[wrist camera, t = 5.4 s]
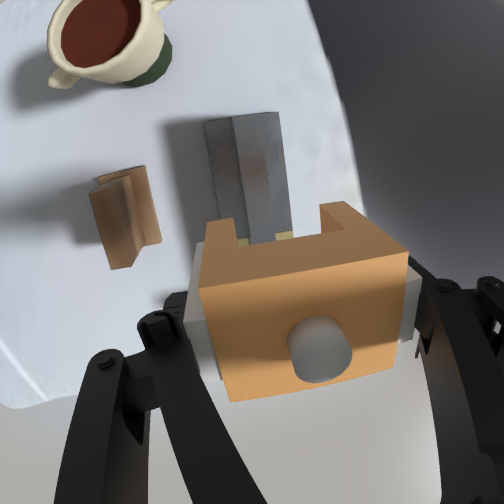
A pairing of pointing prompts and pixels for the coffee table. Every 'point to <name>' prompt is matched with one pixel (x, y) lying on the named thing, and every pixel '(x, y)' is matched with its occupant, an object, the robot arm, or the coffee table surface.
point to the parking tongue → (125, 215)
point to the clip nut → (302, 304)
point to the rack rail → (251, 176)
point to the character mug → (108, 42)
